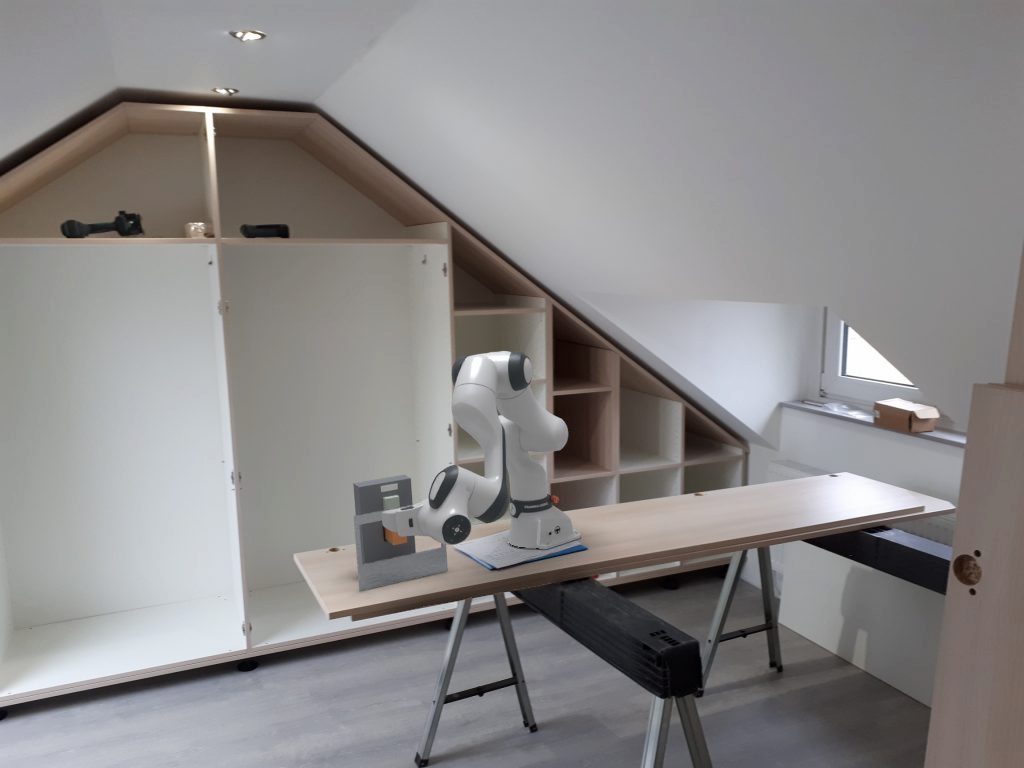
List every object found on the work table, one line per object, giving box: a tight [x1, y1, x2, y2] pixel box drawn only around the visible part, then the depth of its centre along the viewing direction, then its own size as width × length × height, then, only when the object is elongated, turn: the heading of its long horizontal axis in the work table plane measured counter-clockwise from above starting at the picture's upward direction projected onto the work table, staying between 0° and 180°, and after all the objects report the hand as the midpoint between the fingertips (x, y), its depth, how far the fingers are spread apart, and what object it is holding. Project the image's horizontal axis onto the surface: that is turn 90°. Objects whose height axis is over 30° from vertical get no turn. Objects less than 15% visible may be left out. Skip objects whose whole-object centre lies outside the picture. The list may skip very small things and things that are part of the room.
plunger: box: [384, 527, 407, 545], centre depth 232 cm, size 7×4×4 cm, turn 28°
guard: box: [353, 506, 449, 592], centre depth 231 cm, size 8×25×20 cm, turn 118°
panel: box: [352, 474, 417, 564], centre depth 235 cm, size 7×15×26 cm, turn 118°
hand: (412, 507), depth 217 cm, fingers closed
